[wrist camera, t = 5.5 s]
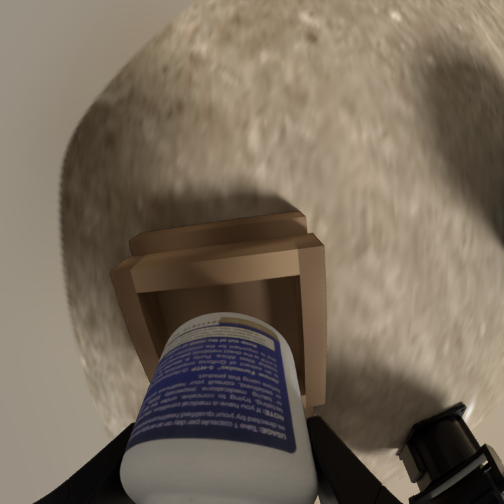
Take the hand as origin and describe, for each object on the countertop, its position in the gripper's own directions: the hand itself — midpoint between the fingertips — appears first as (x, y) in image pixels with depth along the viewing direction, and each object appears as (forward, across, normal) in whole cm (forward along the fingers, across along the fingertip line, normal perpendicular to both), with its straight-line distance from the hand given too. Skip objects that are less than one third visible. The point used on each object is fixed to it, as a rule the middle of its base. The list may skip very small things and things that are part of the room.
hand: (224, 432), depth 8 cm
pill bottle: (+4, 0, 0) cm, 4 cm away
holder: (+8, 0, +7) cm, 10 cm away
